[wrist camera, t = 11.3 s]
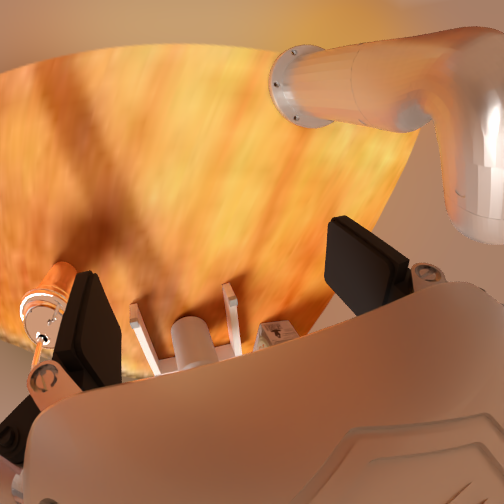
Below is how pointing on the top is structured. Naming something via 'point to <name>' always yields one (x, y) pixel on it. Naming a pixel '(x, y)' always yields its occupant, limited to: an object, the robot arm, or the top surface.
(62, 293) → the cup with straw
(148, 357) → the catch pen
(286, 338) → the coffee box
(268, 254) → the top surface
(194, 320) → the beverage can
